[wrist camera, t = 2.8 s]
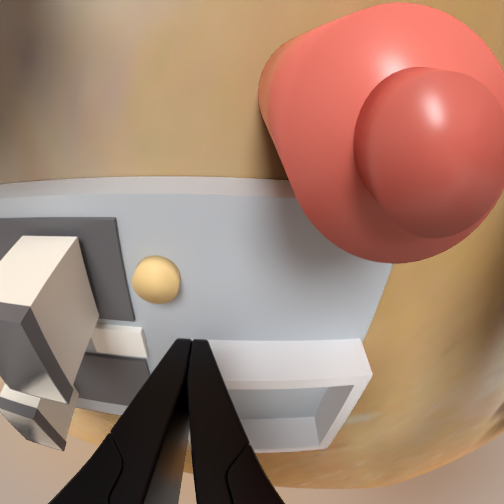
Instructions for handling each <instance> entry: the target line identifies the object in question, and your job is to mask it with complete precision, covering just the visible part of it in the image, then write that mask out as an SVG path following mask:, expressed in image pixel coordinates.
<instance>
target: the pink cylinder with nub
mask: <svg viewBox="0 0 504 504" xmlns="http://www.w3.org/2000/svg"><path fill="white" fill-rule="evenodd" d="M258 100H259V107H260V111H261V114H262V117H263V119H264V122H265V124H266V126H267V129H268V131H269V133H270V136H271V138H272V140H273V143H274V145H275V147H276V150H277V152H278V155H279V157H280V159H281V162H282V164H283V167H284V169H285V171H286V174H287V176H288V179H289V181H290V184H291V186H292V189H293V191H294V194H295V196H296V199H297V201H298V202H299V204H300V206H301V208H302V210H303V211H304V213H305V215H306V216H307V217H308V219H309V220H310V221H311V223H312V224H313V225H314V227H315V228H316V229H317V230H318V231H319V232H320V233H321V234H322V235H323V236H324V237H325V238H327V239H328V240H329V241H331V242H332V243H333V244H335V245H336V246H337V247H339V248H341V249H342V250H344V251H346V252H348V253H350V254H352V255H354V256H357V257H360V258H362V259H365V260H370V261H374V262H380V263H391V264H393V263H408V262H414V261H419V260H423V259H426V258H430V257H433V256H435V255H437V254H440V253H442V252H444V251H446V250H448V249H449V248H451V247H453V246H455V245H456V244H458V243H459V242H460V241H462V240H463V239H465V238H466V237H467V236H468V235H469V234H471V233H472V232H473V231H474V230H475V229H476V228H477V227H478V226H479V225H480V224H481V223H482V222H483V220H484V219H485V218H486V217H487V216H488V214H489V213H490V211H491V210H492V209H493V207H494V206H495V204H496V202H497V201H498V199H499V197H500V196H501V194H502V192H503V189H504V72H503V70H502V68H501V66H500V64H499V62H498V61H497V59H496V57H495V56H494V54H493V53H492V51H491V50H490V49H489V48H488V46H487V45H486V44H485V43H484V41H483V40H482V39H481V38H480V37H479V36H478V35H477V34H476V33H475V32H473V31H472V30H471V29H470V28H469V27H468V26H466V25H465V24H463V23H462V22H461V21H459V20H458V19H456V18H454V17H452V16H450V15H449V14H447V13H445V12H443V11H440V10H437V9H434V8H431V7H428V6H424V5H419V4H413V3H388V4H381V5H375V6H372V7H369V8H366V9H363V10H361V11H358V12H355V13H352V14H350V15H347V16H344V17H342V18H339V19H337V20H334V21H332V22H329V23H327V24H324V25H322V26H319V27H317V28H315V29H313V30H310V31H308V32H306V33H303V34H301V35H299V36H297V37H295V38H293V39H290V40H289V41H287V42H286V43H284V44H283V45H282V46H280V47H279V48H278V49H277V50H276V51H275V52H274V53H273V54H272V56H271V57H270V58H269V60H268V61H267V63H266V65H265V67H264V69H263V71H262V74H261V77H260V81H259V88H258Z"/></svg>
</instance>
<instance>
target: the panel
mask: <svg viewBox="0 0 504 504" xmlns="http://www.w3.org/2000/svg"><path fill="white" fill-rule="evenodd" d="M22 236H68V237H78V241H79V245H80V250H81V254H82V258H83V262H84V265H85V269H86V273H87V277H88V280H89V284H90V287H91V291H92V294H93V297H94V301H95V304H96V307H97V310H98V314H99V318H98V321H97V323H96V325H95V328H94V330H93V333H92V335H91V338H90V340H89V343H88V346H87V348H86V351H85V353H84V356H83V359H82V361H81V364H80V367H79V370H78V372H77V375H76V378H75V381H74V384H73V387H72V388H73V389H74V390H73V393H72V396H71V399H70V402H69V405H68V404H64V403H60V402H55V401H51V400H47V399H43V398H39V397H36V396H32V395H29V394H25V393H22V392H18V391H15V390H12V389H10V388H9V387H8V386H7V384H6V383H5V385H4V387H3V390H2V392H1V394H0V413H1V414H2V415H3V416H4V417H5V418H6V419H7V420H8V421H9V422H10V423H11V425H13V427H14V428H15V429H17V431H18V432H20V434H21V435H22V436H24V437H25V438H26V439H27V440H29V441H32V442H35V443H38V444H41V445H44V446H47V447H51V448H54V449H57V450H61V451H64V449H65V446H66V437H67V434H68V430H69V426H70V423H71V419H72V416H73V413H74V409H75V407H77V408H82V409H87V410H92V411H97V412H103V413H109V414H115V415H122V414H123V412H124V411H125V410H126V408H127V407H128V405H129V404H130V403H131V401H132V400H133V398H134V397H135V396H136V394H137V393H138V391H139V390H140V389H141V387H142V386H143V384H144V383H145V382H146V380H147V379H148V377H149V376H150V375H151V373H152V372H153V370H154V369H155V368H156V366H157V365H158V363H159V362H160V361H161V359H162V358H163V356H164V355H165V354H166V352H167V351H168V349H169V348H170V347H171V345H172V344H173V343H174V341H175V340H176V339H177V338H188V339H191V340H192V341H193V339H206V340H208V342H209V344H210V347H211V349H212V352H213V354H214V357H215V360H216V362H217V365H218V367H219V370H220V372H221V375H222V377H223V380H224V382H225V385H226V387H227V390H228V392H229V395H230V397H231V399H232V402H233V404H234V407H235V409H236V411H237V414H238V416H239V418H240V421H241V423H242V425H243V428H244V430H245V432H246V435H247V437H248V439H249V441H250V445H252V448H253V450H254V452H255V453H276V452H294V451H307V450H318V449H327V448H328V446H329V445H330V443H331V442H332V440H333V439H334V437H335V436H336V434H337V433H338V431H339V430H340V428H341V427H342V425H343V424H344V422H345V421H346V419H347V417H348V416H349V414H350V413H351V411H352V409H353V408H354V406H355V405H356V403H357V401H358V400H359V398H360V396H361V395H362V393H363V391H364V389H365V388H366V386H367V384H368V382H369V381H370V379H371V377H372V375H373V374H372V371H371V368H370V365H369V362H368V359H367V356H366V354H365V351H364V348H363V345H362V342H363V340H364V338H365V335H366V333H367V331H368V328H369V326H370V324H371V321H372V319H373V316H374V314H375V311H376V309H377V306H378V304H379V301H380V298H381V296H382V293H383V291H384V288H385V285H386V282H387V280H388V277H389V274H390V271H391V268H392V266H393V264H391V263H380V262H374V261H370V260H365V259H362V258H360V257H357V256H354V255H352V254H350V253H348V252H346V251H344V250H342V249H341V248H339V247H337V246H336V245H335V244H333V243H332V242H331V241H329V240H328V239H327V238H325V237H324V236H323V235H322V234H321V233H320V232H319V231H318V230H317V229H316V228H315V227H314V225H313V224H312V223H311V221H310V220H309V219H308V217H307V216H306V215H305V213H304V211H303V210H302V208H301V206H300V204H299V202H298V201H297V199H296V196H295V194H294V191H293V189H292V186H291V184H290V181H289V180H274V179H255V178H230V177H188V176H141V177H100V178H76V179H59V180H43V181H30V182H18V183H8V184H0V261H1V260H2V258H3V257H4V256H5V255H6V254H7V253H8V251H9V250H10V249H11V248H12V247H13V246H14V245H15V244H16V242H17V241H18V240H19V239H20V238H21V237H22ZM188 441H189V445H190V448H191V441H190V430H189V437H188Z"/></svg>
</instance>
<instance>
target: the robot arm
mask: <svg viewBox="0 0 504 504" xmlns="http://www.w3.org/2000/svg"><path fill="white" fill-rule="evenodd" d="M189 430H190V441H191V453H192V464H193V474H194V483H195V492H196V501H197V504H285V503H284V502H283V500H282V499H281V497H280V496H279V495H278V493H277V492H276V490H275V488H274V487H273V485H272V484H271V482H270V480H269V479H268V477H267V476H266V474H265V472H264V470H263V468H262V466H261V464H260V462H259V460H258V458H257V456H256V454H255V452H254V450H253V448H252V445H250V441H249V439H248V437H247V435H246V432H245V430H244V428H243V425H242V423H241V421H240V418H239V416H238V414H237V411H236V409H235V407H234V404H233V402H232V399H231V397H230V395H229V392H228V390H227V387H226V385H225V382H224V380H223V377H222V375H221V372H220V370H219V367H218V365H217V362H216V360H215V357H214V354H213V352H212V349H211V347H210V344H209V342H208V340H206V339H193V341H192V340H191V339H188V338H177V339H176V340H175V341H174V343H173V344H172V345H171V347H170V348H169V349H168V351H167V352H166V354H165V355H164V356H163V358H162V359H161V361H160V362H159V363H158V365H157V366H156V368H155V369H154V370H153V372H152V373H151V375H150V376H149V377H148V379H147V380H146V382H145V383H144V384H143V386H142V387H141V389H140V390H139V391H138V393H137V394H136V396H135V397H134V398H133V400H132V401H131V403H130V404H129V405H128V407H127V408H126V410H125V411H124V412H123V414H122V415H121V417H120V418H119V419H118V421H117V422H116V424H115V425H114V427H113V428H112V429H111V431H110V432H111V433H109V434H108V435H107V436H106V438H105V439H104V440H103V442H102V443H101V445H100V446H99V447H98V449H97V450H96V451H95V453H94V454H93V455H92V457H91V458H90V459H89V460H88V461H87V463H86V464H85V465H84V466H83V467H82V468H81V470H79V472H78V473H77V474H76V475H75V476H74V477H73V478H72V479H71V480H70V481H69V482H68V483H67V485H66V486H65V487H64V488H63V489H62V490H61V491H60V492H59V493H58V494H57V495H56V496H55V497H54V498H53V499H52V500H51V501H50V502H49V503H48V504H178V501H179V494H180V488H181V481H182V474H183V468H184V462H185V455H186V449H187V443H188V437H189Z"/></svg>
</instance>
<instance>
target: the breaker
mask: <svg viewBox="0 0 504 504" xmlns="http://www.w3.org/2000/svg"><path fill="white" fill-rule="evenodd" d="M98 318H99V314H98V310H97V307H96V304H95V301H94V297H93V294H92V291H91V287H90V284H89V280H88V277H87V273H86V269H85V265H84V262H83V258H82V254H81V250H80V245H79V241H78V237H68V236H22V237H21V238H20V239H19V240H18V241H17V242H16V244H15V245H14V246H13V247H12V248H11V249H10V250H9V251H8V253H7V254H6V255H5V256H4V257H3V258H2V260H1V261H0V376H1V378H2V379H3V380H4V382H5V383H6V384H7V386H8V387H9V388H10V389H12V390H15V391H18V392H22V393H25V394H29V395H32V396H36V397H39V398H43V399H47V400H51V401H55V402H60V403H64V404H68V405H69V402H70V399H71V396H72V393H73V390H74V389H73V388H72V387H73V384H74V381H75V378H76V375H77V372H78V370H79V367H80V364H81V361H82V359H83V356H84V353H85V351H86V348H87V346H88V343H89V340H90V338H91V335H92V333H93V330H94V328H95V325H96V323H97V321H98Z"/></svg>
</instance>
